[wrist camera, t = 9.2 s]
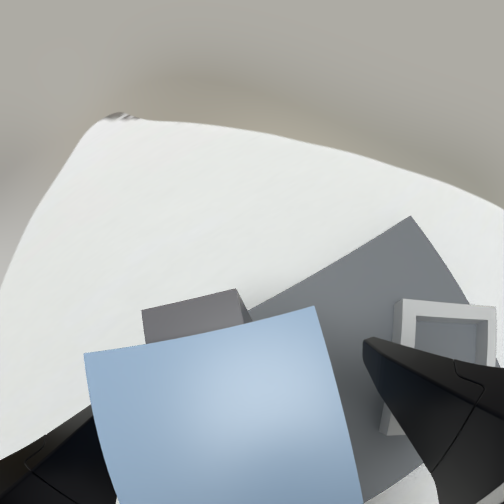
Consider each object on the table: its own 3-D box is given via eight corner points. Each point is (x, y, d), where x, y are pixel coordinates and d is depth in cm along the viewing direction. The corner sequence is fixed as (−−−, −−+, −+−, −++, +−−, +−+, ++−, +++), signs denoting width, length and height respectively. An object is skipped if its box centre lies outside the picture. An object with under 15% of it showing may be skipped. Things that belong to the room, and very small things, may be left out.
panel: (270, 542, 11) (269, 559, 9) (158, 356, 18) (143, 354, 16) (506, 376, 14) (525, 374, 12) (413, 215, 20) (425, 199, 18)
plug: (305, 419, 15) (367, 523, 3) (233, 434, 15) (139, 546, 3) (285, 339, 17) (301, 262, 5) (214, 355, 17) (80, 315, 5)
